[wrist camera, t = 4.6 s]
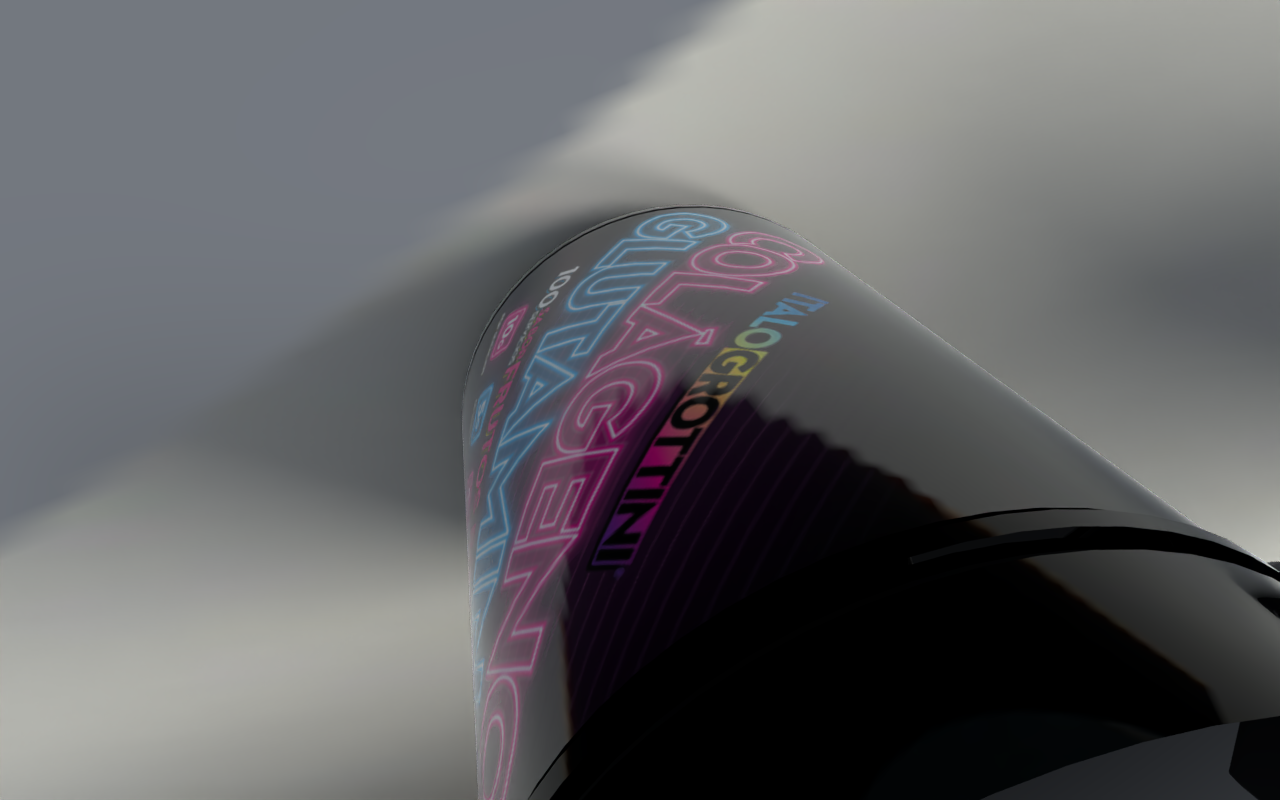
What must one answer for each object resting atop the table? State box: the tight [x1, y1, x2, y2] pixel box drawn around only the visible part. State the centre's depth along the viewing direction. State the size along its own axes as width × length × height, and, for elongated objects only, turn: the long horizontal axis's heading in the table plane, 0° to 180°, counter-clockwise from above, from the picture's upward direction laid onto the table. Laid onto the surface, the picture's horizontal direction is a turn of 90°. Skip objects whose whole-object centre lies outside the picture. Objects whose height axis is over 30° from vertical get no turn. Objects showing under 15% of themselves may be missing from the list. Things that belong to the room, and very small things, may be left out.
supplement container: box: [462, 204, 1280, 800], centre depth 10 cm, size 7×7×10 cm
